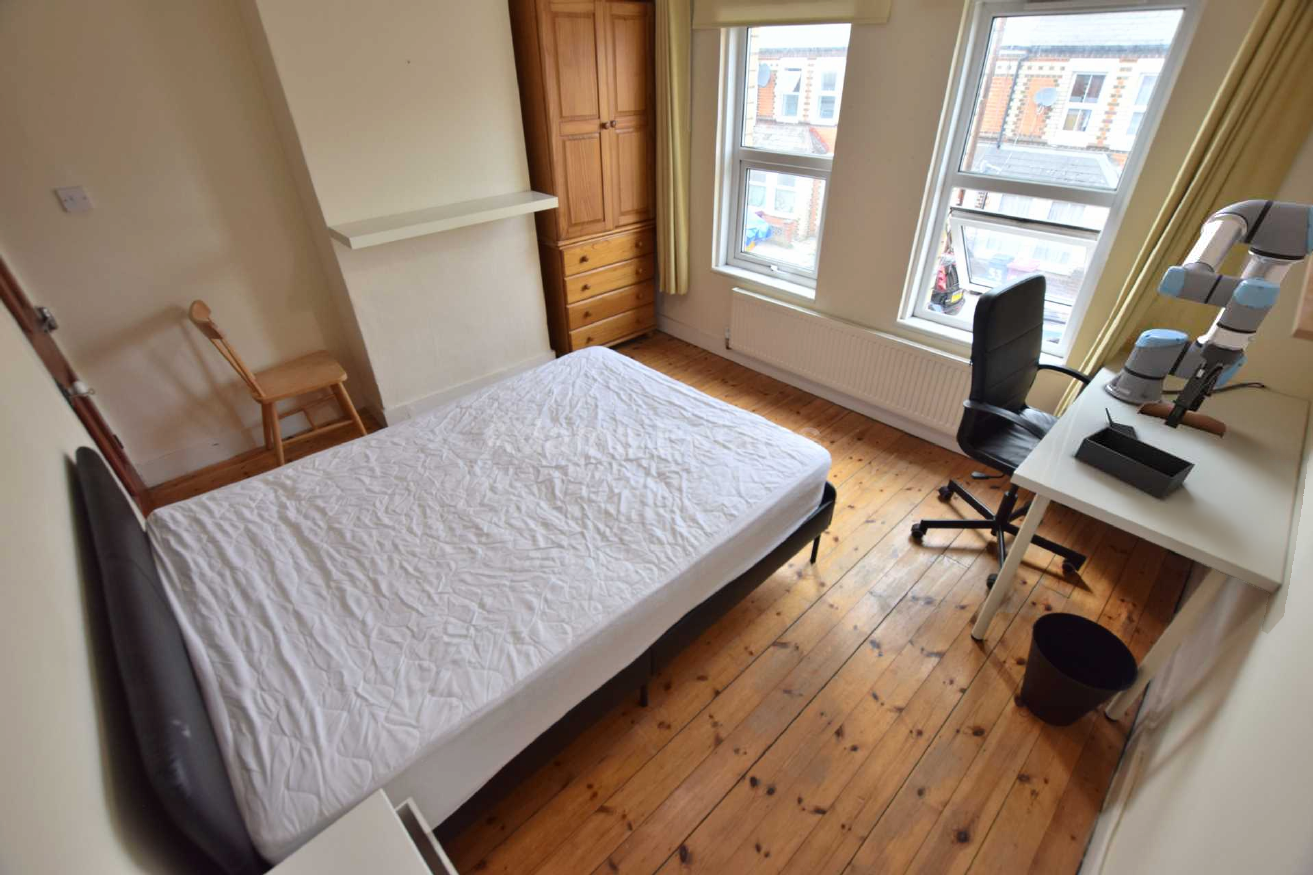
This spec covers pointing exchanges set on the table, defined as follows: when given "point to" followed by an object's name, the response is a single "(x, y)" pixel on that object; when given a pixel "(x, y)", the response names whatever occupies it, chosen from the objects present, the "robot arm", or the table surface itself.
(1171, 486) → the bin
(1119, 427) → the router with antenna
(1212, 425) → the sunglasses case
